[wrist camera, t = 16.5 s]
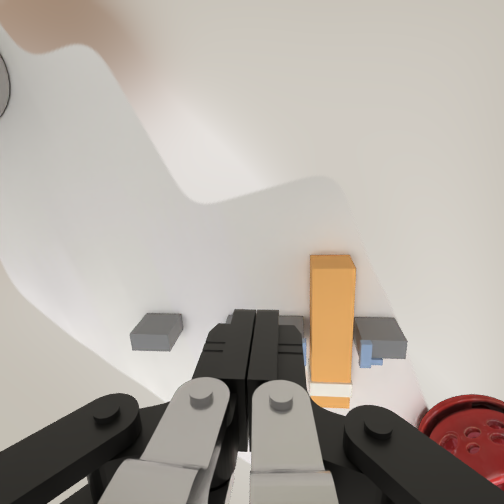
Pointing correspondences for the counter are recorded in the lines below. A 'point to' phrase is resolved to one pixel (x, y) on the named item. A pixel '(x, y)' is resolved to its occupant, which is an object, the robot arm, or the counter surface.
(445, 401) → the plant pot
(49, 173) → the counter surface
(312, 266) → the banded orange pillar
